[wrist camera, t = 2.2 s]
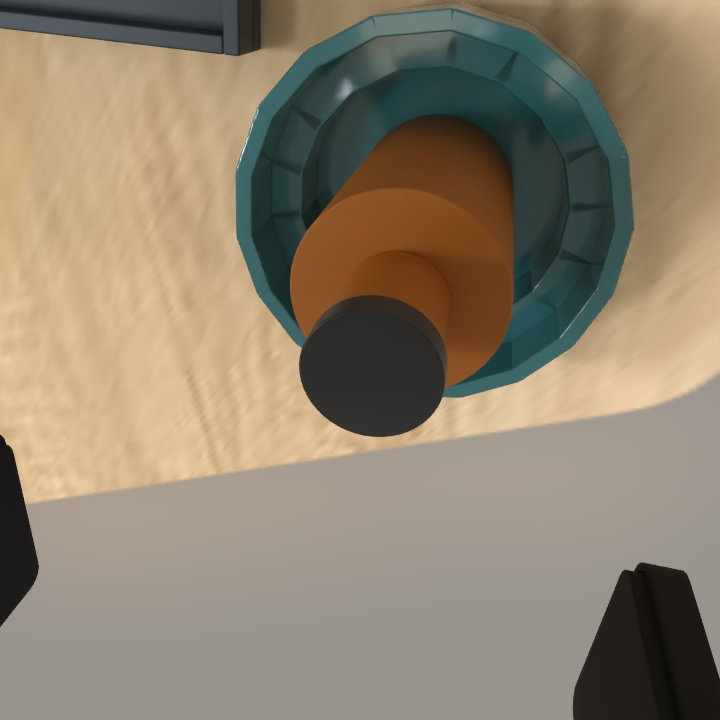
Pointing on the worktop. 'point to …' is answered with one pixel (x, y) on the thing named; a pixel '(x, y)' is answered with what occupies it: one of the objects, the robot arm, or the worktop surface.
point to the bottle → (406, 276)
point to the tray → (144, 22)
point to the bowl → (469, 102)
